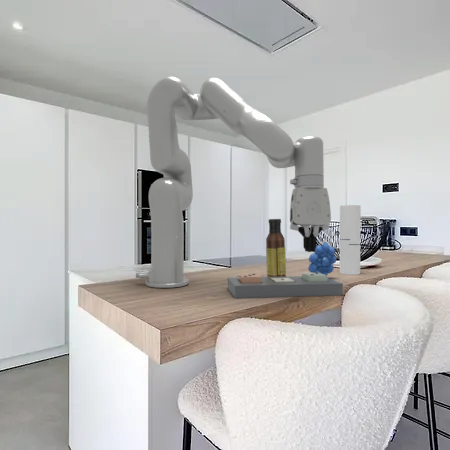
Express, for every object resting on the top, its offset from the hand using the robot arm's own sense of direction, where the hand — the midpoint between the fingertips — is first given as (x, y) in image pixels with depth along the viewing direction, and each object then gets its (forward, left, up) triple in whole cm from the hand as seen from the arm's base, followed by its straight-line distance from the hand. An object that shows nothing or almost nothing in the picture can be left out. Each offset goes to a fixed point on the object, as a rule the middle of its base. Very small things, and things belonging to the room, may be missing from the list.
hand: (309, 251), depth 86 cm
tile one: (-8, 0, -11) cm, 13 cm away
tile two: (+1, 0, -9) cm, 9 cm away
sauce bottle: (-4, +19, -11) cm, 22 cm away
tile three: (-17, 0, -9) cm, 19 cm away
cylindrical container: (+27, +28, -11) cm, 41 cm away
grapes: (+11, +18, -11) cm, 24 cm away
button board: (-8, 0, -11) cm, 13 cm away
